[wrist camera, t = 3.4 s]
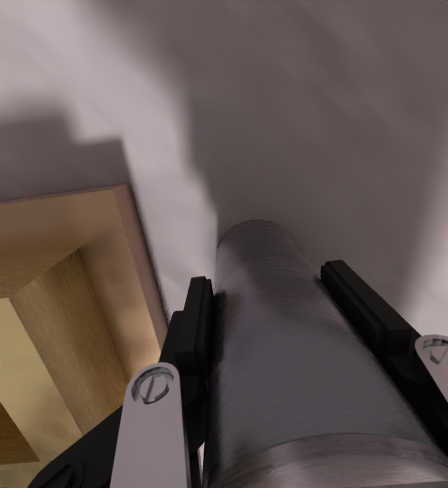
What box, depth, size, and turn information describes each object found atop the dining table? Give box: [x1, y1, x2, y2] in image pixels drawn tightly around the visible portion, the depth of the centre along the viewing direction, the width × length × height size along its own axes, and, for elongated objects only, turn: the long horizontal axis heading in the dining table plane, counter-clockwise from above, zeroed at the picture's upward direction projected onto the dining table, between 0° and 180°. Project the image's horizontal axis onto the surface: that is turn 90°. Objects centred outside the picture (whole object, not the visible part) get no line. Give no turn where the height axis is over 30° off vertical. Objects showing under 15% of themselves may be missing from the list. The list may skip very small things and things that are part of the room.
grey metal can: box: [202, 220, 448, 488], centre depth 8 cm, size 4×4×12 cm
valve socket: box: [0, 183, 168, 488], centre depth 13 cm, size 16×16×6 cm
